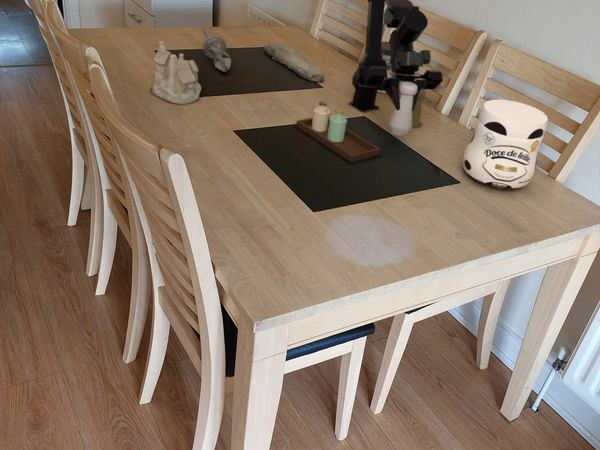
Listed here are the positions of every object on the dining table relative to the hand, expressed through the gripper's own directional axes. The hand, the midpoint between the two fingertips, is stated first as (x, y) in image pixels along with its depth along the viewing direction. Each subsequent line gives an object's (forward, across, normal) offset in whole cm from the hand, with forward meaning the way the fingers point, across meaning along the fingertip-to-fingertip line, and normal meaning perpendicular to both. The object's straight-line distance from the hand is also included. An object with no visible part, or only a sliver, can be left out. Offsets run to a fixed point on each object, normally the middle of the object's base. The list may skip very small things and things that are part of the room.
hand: (405, 110), depth 147 cm
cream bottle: (-2, -17, +20) cm, 26 cm away
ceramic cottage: (-17, -55, +37) cm, 68 cm away
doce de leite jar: (+16, +24, +3) cm, 29 cm away
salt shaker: (+4, 0, +6) cm, 7 cm away
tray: (+3, -14, +16) cm, 21 cm away
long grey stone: (-39, -18, +59) cm, 73 cm away
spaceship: (-40, -44, +60) cm, 85 cm away
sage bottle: (+2, -14, +16) cm, 21 cm away
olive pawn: (-7, +12, +27) cm, 30 cm away
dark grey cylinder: (-27, +11, +47) cm, 55 cm away
